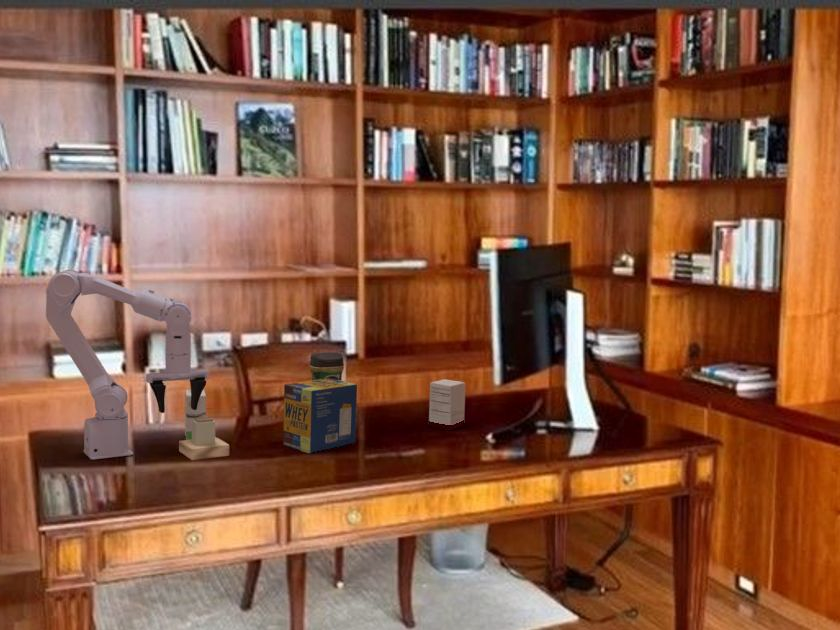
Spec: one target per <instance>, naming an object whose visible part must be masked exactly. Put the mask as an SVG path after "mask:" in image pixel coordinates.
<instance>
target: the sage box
mask: <svg viewBox="0 0 840 630" xmlns="http://www.w3.org/2000/svg"><path fill="white" fill-rule="evenodd" d="M215 437H216V421H215V420H214V419H213V418H212V417H210V416H206V417H197V418H194V419H192V443H193V444H195V445H196V446H205V445H215Z"/></svg>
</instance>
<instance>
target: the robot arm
mask: <svg viewBox="0 0 840 630" xmlns="http://www.w3.org/2000/svg"><path fill="white" fill-rule="evenodd" d="M155 292H156V290H155V289H152V288H149V289H148V290H147V289H145V288H144V289H141V290H139V291H133V290H132V289H128V288H127V287H124V286H122V285H120V284H117V283H114V282H112V281H109V280H106V279H104V278H103V277H99V276H97V275H94V274H89V273H86V272H79V271H78V270H76V269H65V270H62V271H59V272H56V273H55V274H53V276H51V277H50V280H49V282H48V284H47V285H46V289H45V295H46V300H45V301H46V302H45V317H46V320H47V322H48V323H49V325H50V326H51V328H52V330H53V331H54V333H55V335H56V336H57V338H58V340H59V341H60V343H61V344H62V346H63V347H64V349H65V351H66V352H67V354H68V356H69V357H70V358H71V359H72V361H73V363H74V365H75V366H76V368H77V369H78V371H79V373H80V374H81V375H82V377H83V379H84V381H85V382H86V383H87V386H88V388H89V389H88V390H89V392H90V395H91V397H92V398H93V401H94V408H95V411H96V412H95V414H94V416H93V417H90V418H89V417H88V418H85V420H84V425H83V447H84V448H83V453H84V454H85V455H86V456H87V457H88V458H89V459H90V460H100V459H101V460H102V459H109V458H119V457H127V456H133V455H134V452H133V451H132V450H130V448H129V413H128V412H127V411H126V410H125V408H124V407H125V406H126V404H127V402H128V392H127V390H126V389H125V388H124V387H123V386H121V385H120V384H118V383H117V382H116V381H115V379H114V378H113V376H112V375H110V374H109V373H108V372H107V370H106V369H105V367H104V365H103V364H102V362H101V360H100V359H99V358H98V356H97V354H96V352H95V351H94V349H93V348H92V346H91V343H89V341H88V340H87V338H86V336H85V335H84V333H83V332H82V330H81V328H80V327H79V325H78V324H77V322H76V321H75V319H74V317H73V315H72V311H73V309H74V306H75V303H76V302H75V301H76V300H77V298H78V297H79V296H80V295H81V296H87V295H89V296H90V295H95V294H96V295H100V296H102V297H107V298H110V299H112V300H114V301H118V302H121V303H125V304H126V305H129V306H131V307H132V311H133V312H134V313H135V314H138V315H141V316H144V317H147V318H148V319H149V318H150V319H152V320H155V321H158V322H161V323H162V322H165V324H166V333H165V371H158V372H149V373H145V382H146V383H148V384H149V386H150V388H151V390H152V391H153V394H154V397H155V399H156V403H157V408H158V412H160V413H161V414H165V412H166V411H165V410H166V407H165V405H166V404H165V402H166V401H165V400H166V399H165V398H166V388H167V386H166V384H164V382H173V381H175V382H176V381H185V380H186V381H187V380H188V381H189V387H190V390H191V409H193V410H197V405H198V401H199V398H200V395H201V393H202V391H203V390H205V388H206V385H207V380H208V379H210V370H208V369H192V368H191V364H192V362H191V361H192V360H191V358H192V357H191V354H192V350H191V349H192V342H191V341H192V340H191V339H192V337H191V336H192V335H191V325H190V323H191V321H192V311H191V309H190V306H188V305H187V304H186V303H185V302H183V301H182V300H181V301H180V300H177V301H176V300H175V297H172V296H171V297H170V298H168V297H166V296H163V295H160V294H157V293H155Z"/></svg>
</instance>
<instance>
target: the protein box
mask: <svg viewBox="0 0 840 630" xmlns="http://www.w3.org/2000/svg"><path fill="white" fill-rule="evenodd" d="M283 387H284V389H283V391H284V393H283V446H285V447H287V448H291V449H293V450H297V451H300V452H303V453H307V454H309V453H310V454H314V453H313V452H315V453H318V452H317V451H320V452H322V451H321V450H325V449H329V450H331V449H330V448H334V447H338V448H340V447H339V446H343V445H346V444H350V443H353V442H355V443H356V439H357V436H356V435H357V433H356V432H357V405H358V404H357V401H358V400H357V398H358V395H357V394H358V384H357V383H353V382H349V381H345V380H344V381H343V380H342V379H341V380H337V379H332V378H326V379H320V380H313V381H312V380H308V381H307V380H306V381H299V382H294V383H286V384H284V385H283ZM343 447H344V446H343ZM334 449H335V448H334ZM325 451H326V450H325Z"/></svg>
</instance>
